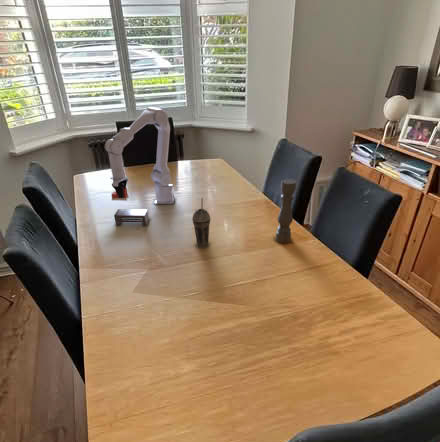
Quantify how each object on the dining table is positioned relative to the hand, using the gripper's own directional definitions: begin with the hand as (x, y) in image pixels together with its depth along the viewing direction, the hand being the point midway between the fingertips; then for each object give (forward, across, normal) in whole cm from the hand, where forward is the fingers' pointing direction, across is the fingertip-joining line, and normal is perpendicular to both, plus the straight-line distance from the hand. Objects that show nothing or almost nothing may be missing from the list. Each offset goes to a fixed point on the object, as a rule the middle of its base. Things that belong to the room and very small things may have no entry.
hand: (122, 196), depth 173 cm
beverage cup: (+9, +33, +41) cm, 53 cm away
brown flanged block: (+8, +11, +6) cm, 15 cm away
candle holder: (+9, +28, +75) cm, 80 cm away
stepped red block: (+1, 0, -1) cm, 2 cm away
